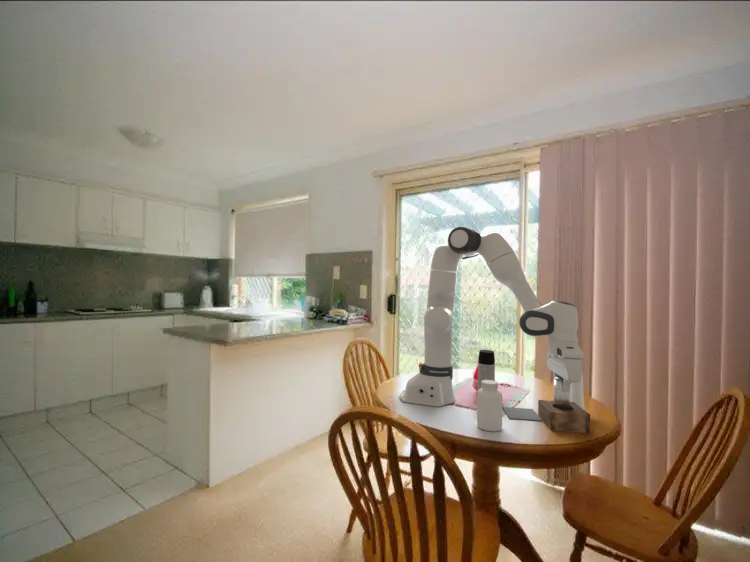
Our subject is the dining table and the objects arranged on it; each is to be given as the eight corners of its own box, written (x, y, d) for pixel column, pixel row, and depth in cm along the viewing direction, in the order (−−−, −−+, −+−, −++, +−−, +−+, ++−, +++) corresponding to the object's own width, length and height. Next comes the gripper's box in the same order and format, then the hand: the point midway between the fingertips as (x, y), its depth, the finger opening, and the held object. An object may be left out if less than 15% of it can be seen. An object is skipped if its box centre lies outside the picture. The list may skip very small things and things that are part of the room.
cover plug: (556, 411, 114) (557, 379, 114) (551, 406, 119) (551, 375, 119) (572, 412, 113) (573, 380, 113) (566, 407, 118) (567, 376, 118)
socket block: (550, 430, 111) (550, 411, 111) (538, 416, 123) (538, 399, 123) (590, 433, 109) (590, 414, 109) (573, 418, 121) (573, 402, 121)
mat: (509, 418, 120) (509, 417, 120) (502, 407, 131) (502, 406, 131) (542, 421, 118) (542, 420, 118) (532, 409, 129) (532, 408, 129)
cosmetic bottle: (570, 410, 129) (570, 352, 129) (588, 415, 124) (588, 355, 125) (564, 414, 125) (564, 354, 125) (582, 419, 120) (583, 357, 120)
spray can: (494, 397, 143) (494, 350, 143) (494, 402, 136) (495, 353, 137) (477, 395, 145) (478, 348, 145) (477, 400, 138) (477, 351, 139)
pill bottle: (477, 420, 118) (478, 377, 118) (502, 424, 115) (503, 380, 115) (475, 429, 110) (476, 383, 111) (501, 434, 107) (502, 386, 107)
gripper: (542, 342, 127) (541, 379, 127) (564, 353, 107) (564, 397, 107) (560, 343, 126) (559, 380, 126) (586, 354, 106) (585, 398, 106)
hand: (562, 388), depth 116 cm, fingers closed on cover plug, 5 cm apart
